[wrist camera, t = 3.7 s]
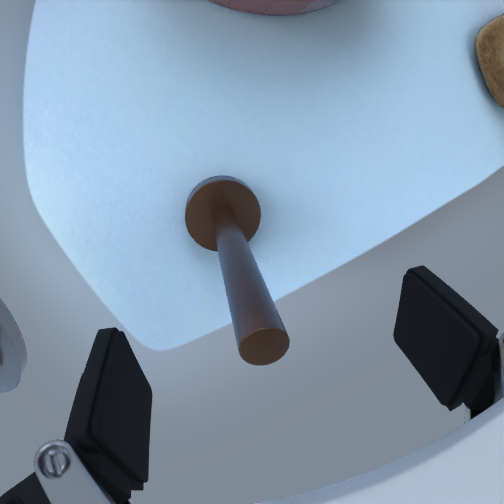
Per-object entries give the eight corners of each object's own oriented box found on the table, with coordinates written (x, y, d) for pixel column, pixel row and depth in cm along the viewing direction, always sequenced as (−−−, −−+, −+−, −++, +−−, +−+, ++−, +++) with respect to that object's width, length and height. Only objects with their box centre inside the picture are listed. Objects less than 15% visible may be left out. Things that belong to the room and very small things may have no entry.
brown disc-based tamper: (193, 249, 23) (201, 410, 10) (179, 182, 21) (157, 294, 8) (260, 236, 24) (338, 379, 10) (252, 170, 21) (346, 256, 8)
